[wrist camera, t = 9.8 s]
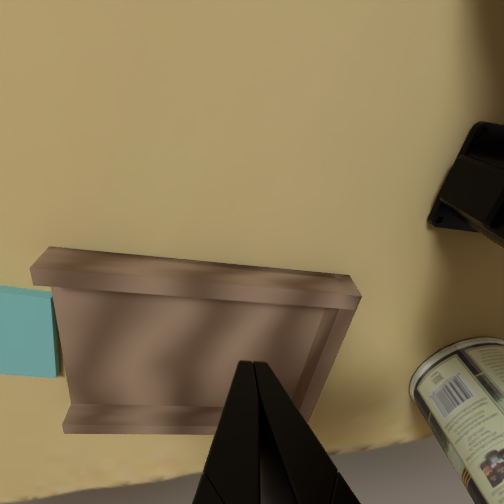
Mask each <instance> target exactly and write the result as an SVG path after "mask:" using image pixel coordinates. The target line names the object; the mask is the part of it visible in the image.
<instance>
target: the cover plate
mask: <svg viewBox="0 0 504 504" xmlns="http://www.w3.org/2000/svg"><path fill="white" fill-rule="evenodd" d="M59 372H60V366H59V350H58V335H57V319H56V313H55V307H54V302H53V296H52V292H47V291H39V290H31V289H23V288H16V287H8V286H0V374H7V375H20V376H33V377H46V378H57V376H58V374H59Z"/></svg>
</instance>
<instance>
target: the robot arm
mask: <svg viewBox="0 0 504 504" xmlns="http://www.w3.org/2000/svg"><path fill="white" fill-rule="evenodd" d="M482 128H483V132H482V133H481V134H480V135H479V132H480V130H481V129H482ZM438 217H439V219H438V220H436V219H437V218H438ZM428 221H429V223H430V224H431V225H433V226H435V227H441V228H448V229H456V230H464V231H472V232H480V233H481V234H483V235H484V236H486V237H487V238H489V239H490V240H492V241H494V242H495V243H497V244H498V245H500V246H501V247H503V248H504V125H500V124H494V123H489V122H484V121H480V122H478V123H476V124H475V125H474V126H473V127H472V129H471V131H470V133H469V135H468V137H467V139H466V141H465V143H464V145H463V147H462V149H461V151H460V154H459V156H458V158H457V160H456V162H455V164H454V166H453V168H452V170H451V172H450V174H449V176H448V178H447V180H446V182H445V184H444V187H443V189H442V191H441V193H440V195H439V197H438V199H437V201H436V203H435V205H434V207H433V209H432V211H431V213H430V215H429V218H428ZM337 472H338V470H337V468H336V466H335V465H334V463H333V462H332V460H331V459H330V457H329V456H328V454H327V452H326V451H325V449H324V448H323V446H322V445H321V443H320V442H319V440H318V439H317V437H316V436H315V434H314V433H313V431H312V430H311V428H310V427H309V425H308V424H307V422H306V421H305V419H304V417H303V416H302V414H301V413H300V411H299V410H298V408H297V407H296V405H295V404H294V402H293V401H292V399H291V398H290V396H289V395H288V393H287V392H286V390H285V389H284V387H283V386H282V384H281V382H280V381H279V379H278V378H277V376H276V375H275V373H274V372H273V370H272V369H271V367H270V366H269V364H268V363H267V362H266V361H253V362H252V361H250V360H240V361H239V362H238V364H237V367H236V370H235V373H234V377H233V380H232V383H231V386H230V389H229V392H228V395H227V398H226V401H225V404H224V408H223V411H222V414H221V417H220V420H219V423H218V426H217V429H216V432H215V435H214V439H213V442H212V445H211V448H210V451H209V454H208V457H207V460H206V463H205V466H204V469H203V474H202V475H201V478H200V481H199V485H198V488H197V491H196V494H195V496H194V499H193V502H192V504H361V503H360V502H359V501H358V499H357V497H356V496H355V495H354V493H353V492H352V491H351V489H350V487H349V486H348V484H347V483H346V481H345V480H344V478H343V477H342V475H341V474H340V473H339V472H338V473H337Z"/></svg>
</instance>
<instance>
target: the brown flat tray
mask: <svg viewBox="0 0 504 504" xmlns="http://www.w3.org/2000/svg"><path fill="white" fill-rule="evenodd" d="M30 272H31V277H32V281H33V285H36V286H49V287H51V290H52V296H53V302H54V307H55V313H56V319H57V325H58V330H59V336H60V342H61V348H62V353H63V359H64V365H65V371H66V376H67V382H68V388H69V394H70V399H71V406H70V408H69V410H68V413H67V415H66V417H65V419H64V422H63V424H62V426H63V431H64V434H192V435H215V432H216V429H217V426H218V423H219V420H220V417H221V414H222V411H223V408H224V404H225V401H226V398H227V395H228V392H229V389H230V386H231V383H232V380H233V377H234V373H235V370H236V367H237V364H238V362H239V361H240V360H250V361H252V362H253V361H266V362H267V363H268V364H269V366H270V367H271V369H272V370H273V372H274V373H275V375H276V376H277V378H278V379H279V381H280V382H281V384H282V386H283V387H284V389H285V390H286V392H287V393H288V395H289V396H290V398H291V399H292V401H293V402H294V404H295V405H296V407H297V408H298V410H299V411H300V413H301V414H302V416H303V417H304V419H305V421H306V422H307V423H308V421H309V418H310V416H311V414H312V411H313V409H314V407H315V404H316V402H317V400H318V397H319V395H320V393H321V390H322V388H323V386H324V383H325V381H326V379H327V376H328V374H329V372H330V369H331V367H332V365H333V362H334V360H335V358H336V355H337V353H338V351H339V348H340V346H341V344H342V341H343V339H344V337H345V335H346V332H347V330H348V328H349V325H350V323H351V321H352V318H353V316H354V314H355V311H356V309H357V307H358V304H359V302H360V300H361V297H362V295H361V293H360V292H359V290H358V289H357V287H356V285H355V284H354V282H353V281H352V279H351V277H350V276H349V275H342V274H331V273H321V272H310V271H300V270H289V269H279V268H268V267H258V266H247V265H237V264H226V263H216V262H205V261H195V260H184V259H174V258H163V257H153V256H142V255H132V254H121V253H111V252H100V251H90V250H79V249H69V248H58V247H49V248H48V249H47V250H46V251H45V252H44V253H43V254H42V255H41V256H40V257H39V258H38V259H37V261H36V262H35V263H34V264H33V265H32V266H31V267H30Z"/></svg>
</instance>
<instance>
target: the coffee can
mask: <svg viewBox="0 0 504 504" xmlns="http://www.w3.org/2000/svg"><path fill="white" fill-rule="evenodd" d="M410 395H411V397H412V399H413V401H414V402H415V403H416V404H417V406H418V408H419V409H420V411H421V413H422V414H423V416H424V418H425V419H426V421H427V423H428V425H429V427H430V428H431V430H432V431H433V433H434V435H435V436H436V438H437V440H438V442H439V443H440V445H441V447H442V448H443V450H444V452H445V453H446V455H447V457H448V458H449V460H450V462H451V463H452V465H453V467H454V469H455V470H456V472H457V474H458V475H459V477H460V479H461V480H462V482H463V484H464V486H465V487H466V489H467V491H468V492H469V494H470V496H471V497H472V499H473V501H474V503H475V504H504V340H501V339H498V338H490V337H487V338H486V337H480V338H475V339H469V340H464V341H461V342H458V343H456V344H453V345H450V346H448V347H446V348H444V349H442V350H440V351H438V352H437V353H436V354H434V355H433V356H431V357H430V358H429V359H427V360H426V361H425V362H424V363H423V364H422V365H421V366H420V367H419V368H418V370H417V371H416V372H415V374H414V376H413V377H412V379H411V384H410Z"/></svg>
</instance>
